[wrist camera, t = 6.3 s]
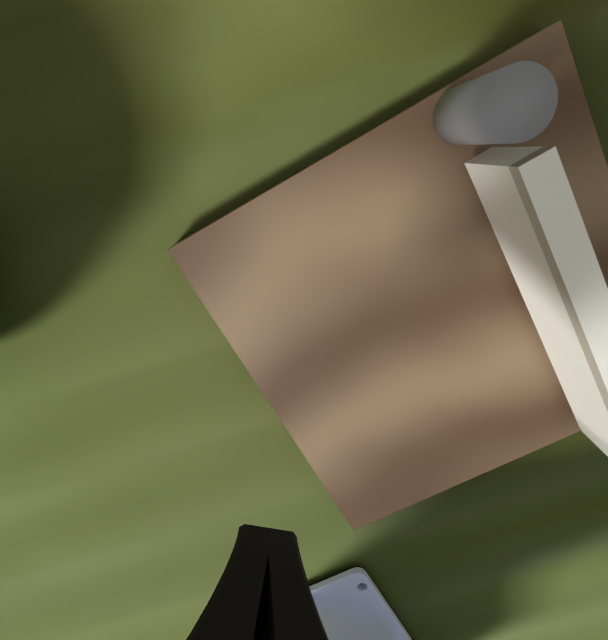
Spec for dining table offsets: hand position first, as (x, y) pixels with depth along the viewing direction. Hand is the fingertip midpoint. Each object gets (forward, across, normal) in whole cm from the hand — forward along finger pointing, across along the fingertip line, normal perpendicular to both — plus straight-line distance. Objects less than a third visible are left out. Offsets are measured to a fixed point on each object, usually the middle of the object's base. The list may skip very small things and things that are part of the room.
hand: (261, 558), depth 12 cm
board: (+9, -6, -4) cm, 12 cm away
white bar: (+8, -8, -7) cm, 13 cm away
